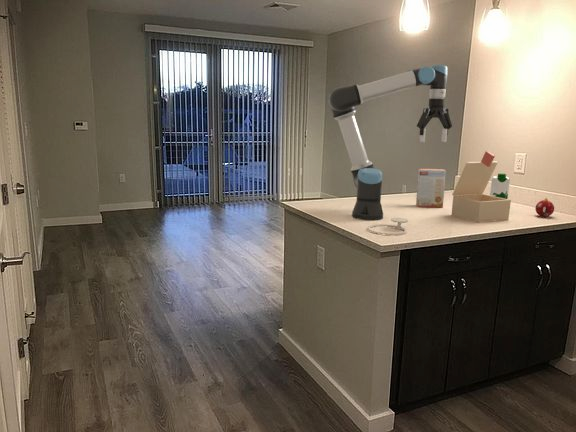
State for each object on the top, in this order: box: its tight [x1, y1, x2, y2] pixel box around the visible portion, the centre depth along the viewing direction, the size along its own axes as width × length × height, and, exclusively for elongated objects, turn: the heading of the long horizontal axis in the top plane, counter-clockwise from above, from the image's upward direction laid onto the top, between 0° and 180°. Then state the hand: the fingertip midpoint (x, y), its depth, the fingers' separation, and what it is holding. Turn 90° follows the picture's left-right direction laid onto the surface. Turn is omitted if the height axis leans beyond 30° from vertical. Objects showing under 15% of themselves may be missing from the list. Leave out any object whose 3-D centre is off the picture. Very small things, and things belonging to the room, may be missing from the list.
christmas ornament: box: [535, 197, 555, 218], centre depth 245 cm, size 9×9×10 cm
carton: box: [451, 193, 512, 224], centre depth 239 cm, size 20×18×10 cm
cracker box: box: [415, 168, 447, 209], centre depth 263 cm, size 14×6×21 cm, turn 84°
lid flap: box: [451, 150, 499, 196], centre depth 238 cm, size 20×25×5 cm
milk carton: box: [489, 173, 510, 199], centre depth 258 cm, size 9×9×20 cm
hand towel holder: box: [366, 217, 410, 236], centre depth 208 cm, size 17×4×21 cm
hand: (433, 141), depth 238 cm, fingers open, 13 cm apart
